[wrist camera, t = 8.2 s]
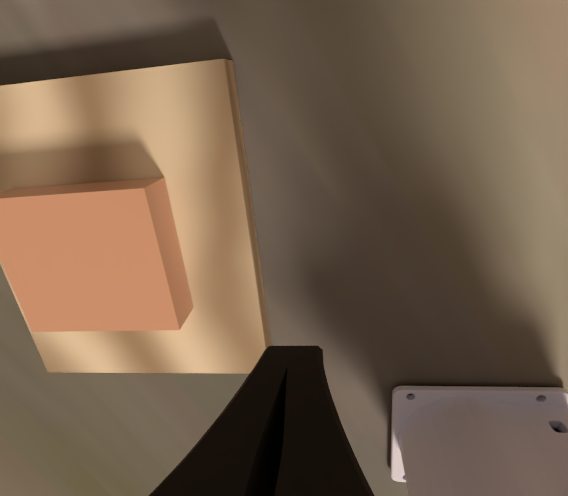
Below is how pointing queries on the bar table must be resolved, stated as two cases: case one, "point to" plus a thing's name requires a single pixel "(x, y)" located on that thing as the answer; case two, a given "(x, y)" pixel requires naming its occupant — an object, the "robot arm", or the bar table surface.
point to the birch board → (182, 194)
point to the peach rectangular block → (95, 256)
